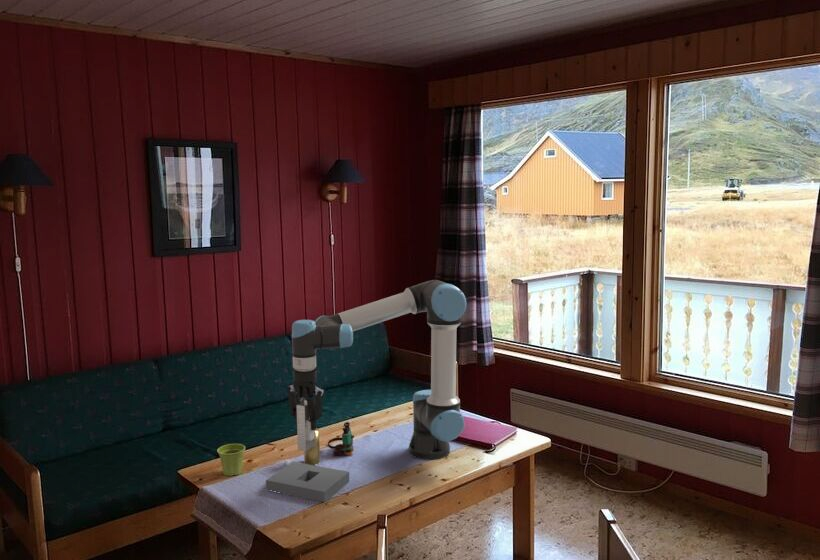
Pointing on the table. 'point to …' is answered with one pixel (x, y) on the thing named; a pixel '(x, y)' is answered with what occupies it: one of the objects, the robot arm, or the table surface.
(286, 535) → the table surface
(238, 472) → the plant pot
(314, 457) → the brass peg
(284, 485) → the slot plate
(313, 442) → the aluminium bar
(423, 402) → the robot arm
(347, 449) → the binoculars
